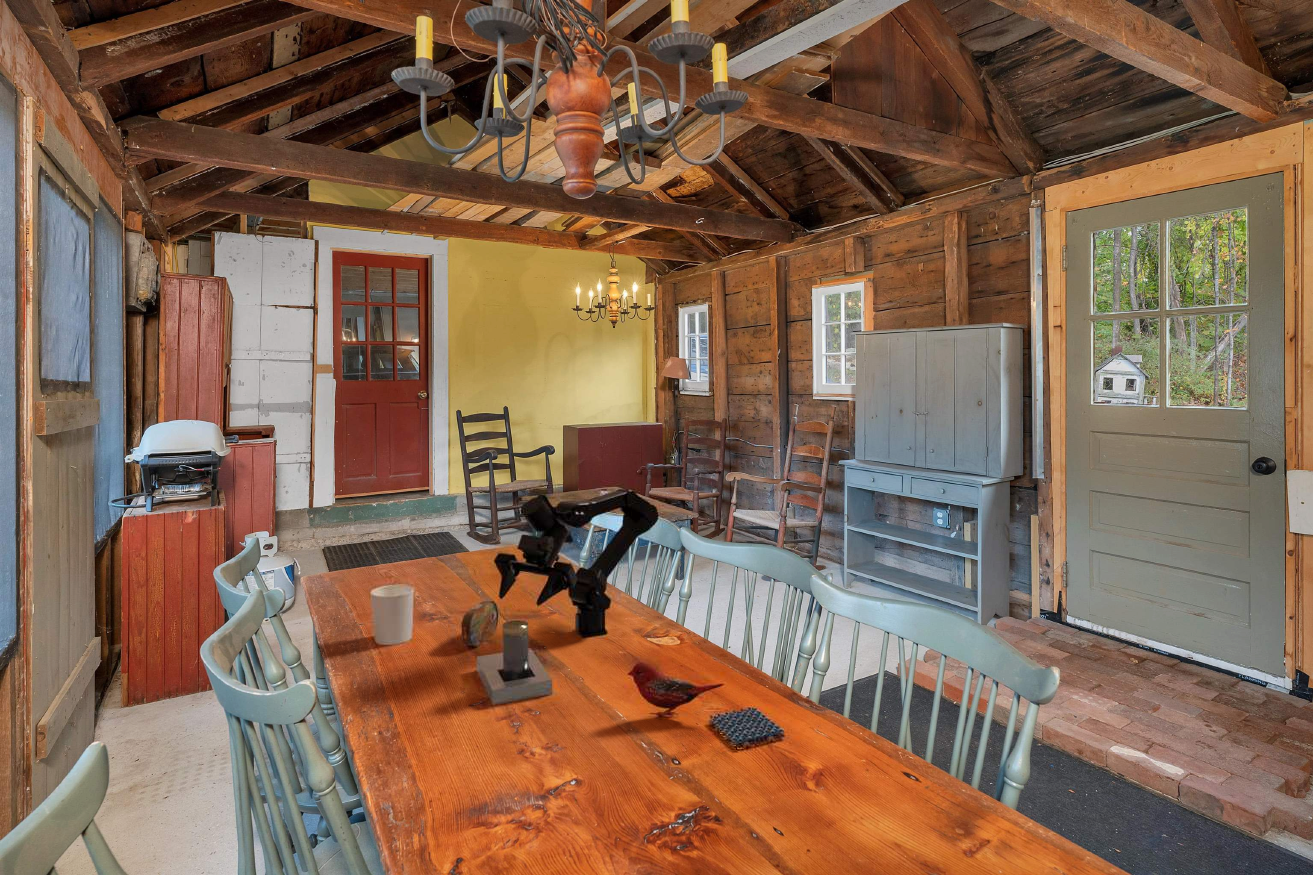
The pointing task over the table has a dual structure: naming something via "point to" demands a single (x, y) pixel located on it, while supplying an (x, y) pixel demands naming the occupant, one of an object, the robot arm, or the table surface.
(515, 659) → the end plug
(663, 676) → the decorative bird figurine
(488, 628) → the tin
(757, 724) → the woven mat
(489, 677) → the housing block
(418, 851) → the table surface
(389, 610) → the white paper cup
